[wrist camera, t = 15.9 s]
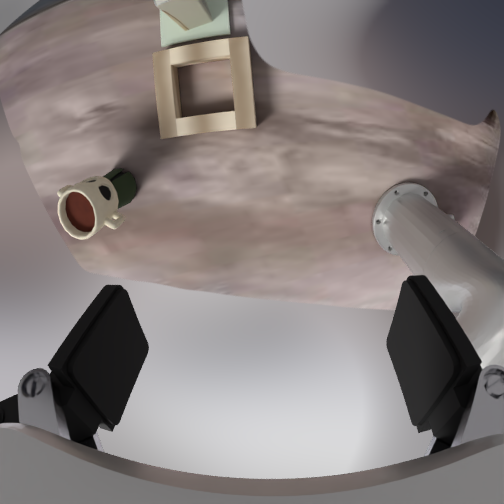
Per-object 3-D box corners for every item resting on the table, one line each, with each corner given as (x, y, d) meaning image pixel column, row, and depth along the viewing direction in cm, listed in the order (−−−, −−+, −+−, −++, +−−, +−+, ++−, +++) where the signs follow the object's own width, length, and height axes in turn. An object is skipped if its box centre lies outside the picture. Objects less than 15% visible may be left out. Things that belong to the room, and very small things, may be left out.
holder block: (249, 41, 30) (247, 36, 28) (256, 126, 36) (255, 127, 34) (160, 56, 31) (152, 53, 29) (168, 137, 38) (160, 139, 35)
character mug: (156, 181, 41) (116, 210, 29) (141, 218, 44) (102, 256, 33) (103, 153, 39) (52, 172, 27) (91, 190, 42) (44, 218, 30)
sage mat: (226, -18, 25) (225, -20, 25) (230, 34, 30) (230, 33, 29) (160, -5, 26) (159, -6, 26) (162, 47, 31) (161, 46, 30)
